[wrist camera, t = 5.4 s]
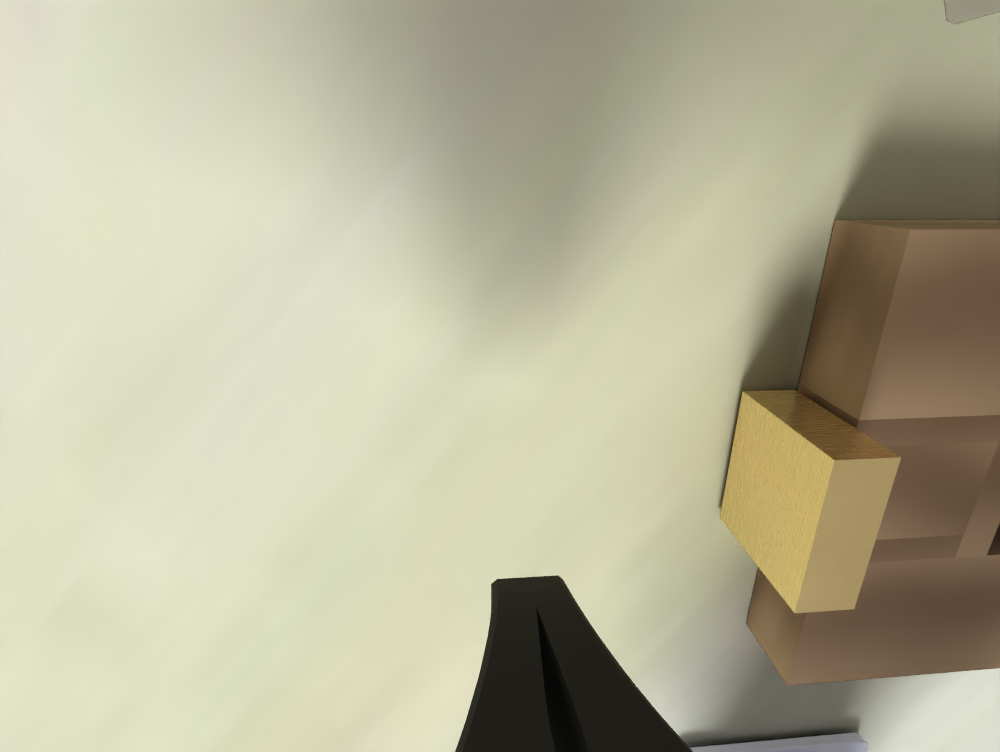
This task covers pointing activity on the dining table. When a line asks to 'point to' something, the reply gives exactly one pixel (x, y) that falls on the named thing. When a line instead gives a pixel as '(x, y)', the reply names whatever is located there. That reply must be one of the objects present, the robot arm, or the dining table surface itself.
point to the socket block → (908, 451)
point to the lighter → (969, 9)
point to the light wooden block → (806, 498)
